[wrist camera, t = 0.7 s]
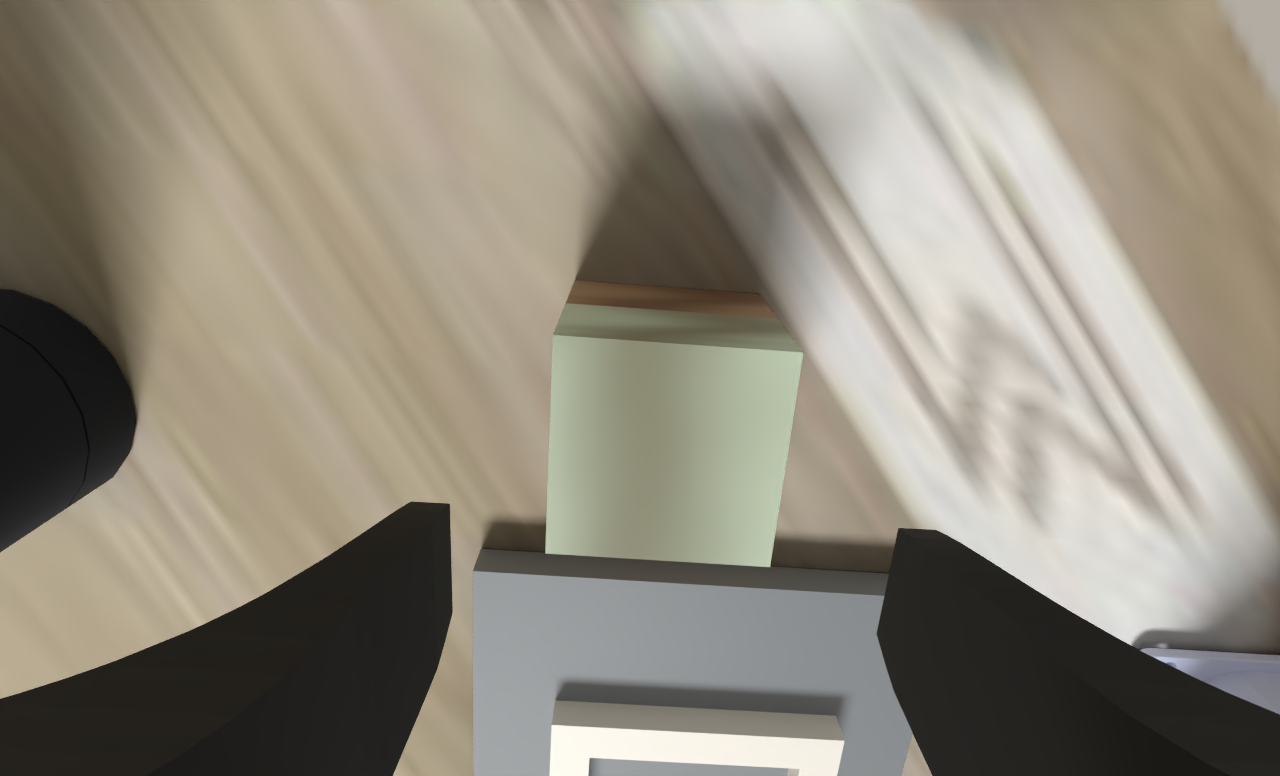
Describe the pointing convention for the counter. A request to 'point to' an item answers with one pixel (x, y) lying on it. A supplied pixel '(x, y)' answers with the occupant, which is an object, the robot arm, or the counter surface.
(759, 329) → the block stack
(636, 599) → the pocket board
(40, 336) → the wine bottle
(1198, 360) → the counter surface
